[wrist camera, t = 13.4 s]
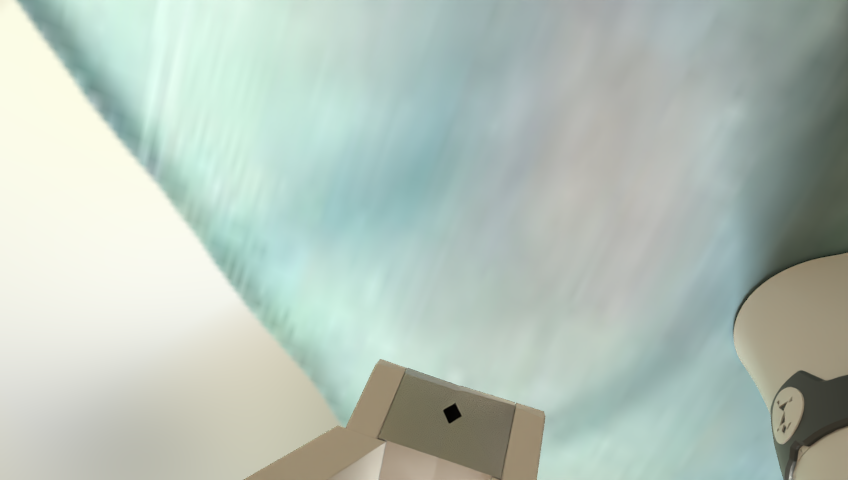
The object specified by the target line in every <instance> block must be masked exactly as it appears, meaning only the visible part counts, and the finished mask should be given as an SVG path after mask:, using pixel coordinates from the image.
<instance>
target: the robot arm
mask: <svg viewBox="0 0 848 480" xmlns="http://www.w3.org/2000/svg"><path fill="white" fill-rule="evenodd" d="M734 344H735V349H736V352H737V354H738V357H739V359H740V360H741V362H742V364H743V365H744V367H745V368H746V369H747V371H748V372H749V374H750V376H751V377H752V379H753V380H754V382H755V384H756V386H757V388H758V389H759V391H760V393H761V395H762V397H763V399H764V402H765V404H766V406H767V408H768V410H769V413H770V415H771V424H772V432H773V439H774V445H775V449H776V453H777V457H778V461H779V465H780V469H781V472H782V476H783V479H784V480H848V253H844V254H840V255H834V256H828V257H823V258H818V259H814V260H810V261H807V262H804V263H801V264H798V265H795V266H793V267H790V268H788V269H786V270H784V271H782V272H780V273H778V274H776V275H775V276H773V277H772V278H770V279H768V280H767V281H766V282H764V283H763V284H762V285H761V286H759V287H758V288H757V289H756V290H755V291H754V292H753V293H752V294H751V295H750V296H749V298H748V299H747V300H746V301H745V303H744V304H743V306H742V308H741V310H740V311H739V314H738V316H737V319H736V322H735V326H734ZM544 423H545V414H544V411H541V410H537V409H534V408H531V407H528V406H525V405H521V404H518V403H516V404H515V402H512V401H509V400H506V399H502V398H499V397H496V396H493V395H489V394H486V393H483V392H480V391H476V390H473V389H470V388H467V387H464V386H458V385H456V384H453V383H450V382H447V381H444V380H441V379H438V378H435V377H432V376H430V375H427V374H424V373H421V372H418V371H415V370H412V369H409V368H405V367H402V366H399V365H396V364H393V363H391V362H388V361H385V360H382V359H380V360H379V361H378V363H377V364H376V365H375V367H374V369H373V371H372V373H371V375H370V378H369V380H368V382H367V384H366V386H365V388H364V390H363V392H362V394H361V397H360V399H359V401H358V403H357V405H356V407H355V409H354V411H353V413H352V415H351V418H350V420H349V422H348V424H347V426H346V428H344V427H341V426H336V427H334V428H332V429H331V430H329V431H327V432H326V433H324V434H322V435H320V436H319V437H317V438H315V439H313V440H312V441H310V442H308V443H306V444H305V445H303V446H301V447H299V448H298V449H296V450H294V451H293V452H291V453H289V454H287V455H286V456H284V457H282V458H281V459H279V460H277V461H275V462H274V463H272V464H270V465H268V466H267V467H265V468H263V469H261V470H260V471H258V472H256V473H254V474H253V475H251V476H249V477H247V478H246V479H244V480H537V473H538V466H539V458H540V451H541V444H542V437H543V430H544Z"/></svg>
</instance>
